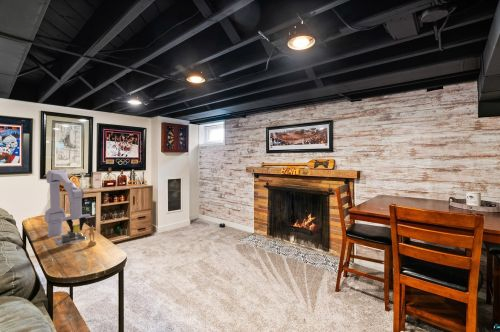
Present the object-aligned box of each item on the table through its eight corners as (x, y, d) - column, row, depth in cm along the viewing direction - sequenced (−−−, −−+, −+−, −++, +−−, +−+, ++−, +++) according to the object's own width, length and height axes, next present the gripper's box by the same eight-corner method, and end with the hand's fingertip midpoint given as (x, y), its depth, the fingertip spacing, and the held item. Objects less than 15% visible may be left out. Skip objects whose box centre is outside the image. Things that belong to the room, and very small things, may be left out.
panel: (52, 240, 150) (52, 236, 150) (80, 235, 162) (80, 231, 161) (58, 248, 139) (58, 243, 139) (89, 241, 150) (88, 236, 150)
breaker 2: (67, 236, 154) (67, 230, 154) (74, 235, 157) (74, 229, 157) (68, 237, 152) (68, 231, 152) (75, 236, 155) (75, 230, 155)
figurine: (84, 249, 137) (83, 229, 136) (82, 246, 141) (82, 226, 141) (101, 246, 142) (100, 226, 142) (99, 243, 147) (99, 224, 146)
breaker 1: (61, 241, 146) (61, 235, 146) (68, 239, 148) (68, 234, 148) (62, 242, 144) (62, 236, 144) (69, 240, 147) (69, 235, 146)
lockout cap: (71, 231, 146) (70, 225, 146) (78, 230, 150) (78, 223, 149) (73, 233, 144) (73, 226, 144) (81, 231, 147) (81, 224, 147)
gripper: (62, 212, 138) (63, 235, 139) (91, 208, 149) (92, 229, 150) (59, 210, 143) (60, 232, 143) (88, 206, 154) (88, 227, 154)
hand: (76, 230), depth 147 cm, fingers closed on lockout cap, 4 cm apart
